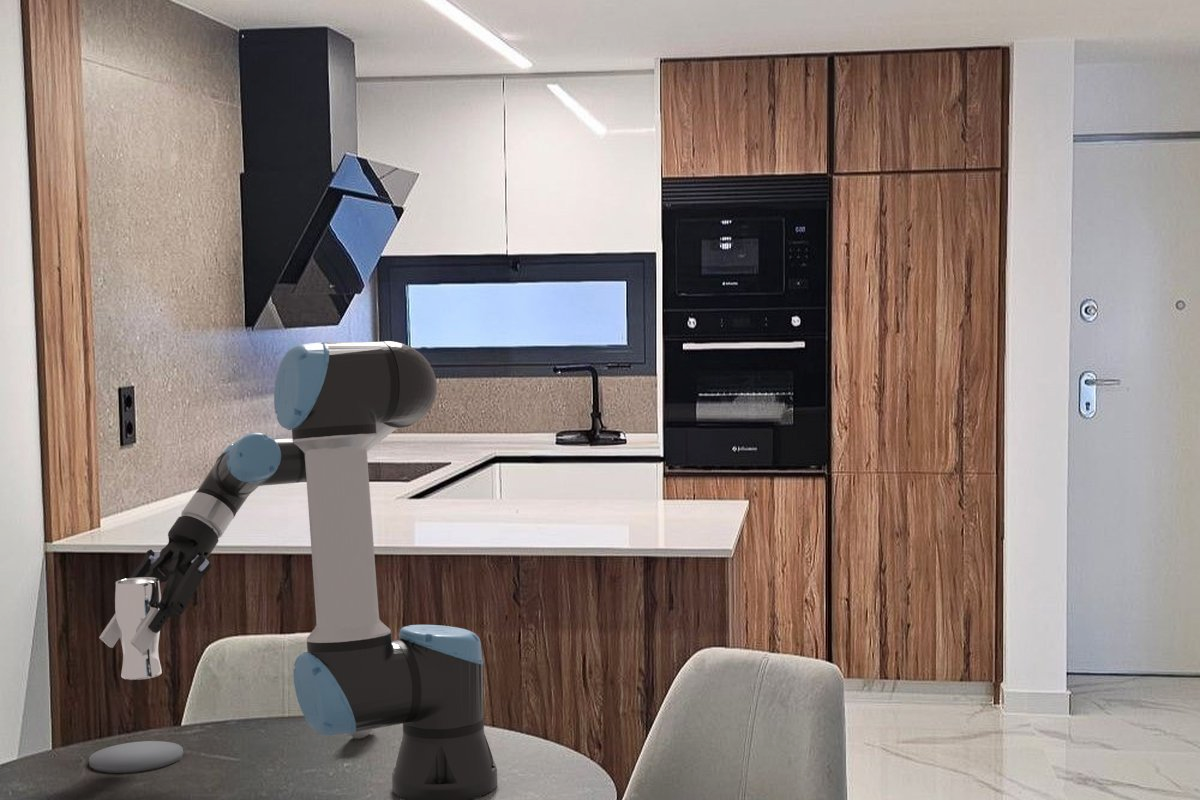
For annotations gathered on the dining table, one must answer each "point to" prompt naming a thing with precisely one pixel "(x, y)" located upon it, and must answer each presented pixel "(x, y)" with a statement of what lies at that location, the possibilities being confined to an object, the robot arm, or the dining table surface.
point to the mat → (135, 756)
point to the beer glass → (137, 625)
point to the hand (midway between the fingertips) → (121, 645)
